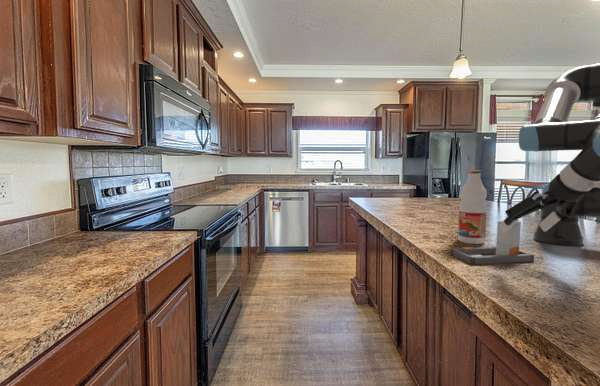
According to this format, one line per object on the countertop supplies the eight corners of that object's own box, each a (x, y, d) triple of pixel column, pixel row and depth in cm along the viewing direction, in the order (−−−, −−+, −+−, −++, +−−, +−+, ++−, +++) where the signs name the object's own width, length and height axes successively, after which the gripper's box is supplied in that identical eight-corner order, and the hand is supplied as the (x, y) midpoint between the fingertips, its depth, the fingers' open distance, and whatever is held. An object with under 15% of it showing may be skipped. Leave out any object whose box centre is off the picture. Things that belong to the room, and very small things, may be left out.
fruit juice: (490, 243, 123) (494, 170, 121) (468, 245, 122) (471, 170, 119) (473, 238, 132) (476, 170, 130) (452, 239, 131) (455, 170, 128)
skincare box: (508, 260, 103) (510, 223, 102) (495, 256, 107) (496, 221, 105) (519, 257, 106) (521, 221, 104) (506, 254, 109) (507, 219, 108)
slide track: (506, 251, 112) (507, 245, 112) (533, 261, 101) (534, 254, 101) (450, 254, 109) (450, 247, 109) (471, 264, 99) (472, 257, 98)
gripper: (538, 194, 78) (491, 240, 94) (626, 192, 82) (566, 237, 98) (521, 171, 83) (479, 219, 99) (605, 171, 87) (551, 217, 103)
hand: (522, 228), depth 99 cm, fingers open, 13 cm apart
